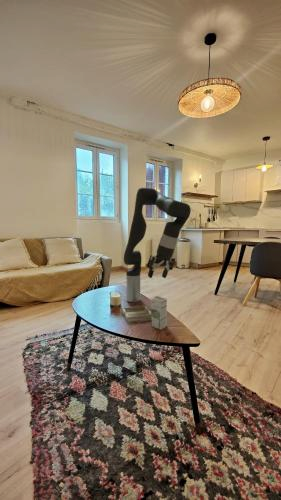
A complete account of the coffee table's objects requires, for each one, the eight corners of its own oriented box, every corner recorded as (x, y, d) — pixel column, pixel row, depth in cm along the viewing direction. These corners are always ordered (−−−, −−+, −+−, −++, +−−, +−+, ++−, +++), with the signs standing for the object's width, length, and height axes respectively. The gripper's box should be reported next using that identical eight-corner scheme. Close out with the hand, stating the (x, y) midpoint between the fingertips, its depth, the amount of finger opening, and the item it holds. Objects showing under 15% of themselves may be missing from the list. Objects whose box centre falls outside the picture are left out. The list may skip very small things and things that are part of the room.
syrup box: (167, 326, 109) (167, 298, 108) (159, 330, 105) (160, 301, 103) (157, 322, 113) (158, 295, 111) (150, 326, 109) (150, 298, 107)
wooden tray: (121, 312, 126) (121, 307, 125) (145, 310, 130) (145, 305, 130) (127, 323, 113) (127, 317, 112) (153, 319, 117) (153, 314, 116)
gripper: (173, 244, 107) (163, 274, 111) (150, 240, 99) (140, 273, 102) (183, 249, 101) (172, 280, 105) (160, 246, 93) (149, 281, 97)
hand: (156, 277), depth 104 cm, fingers open, 8 cm apart
